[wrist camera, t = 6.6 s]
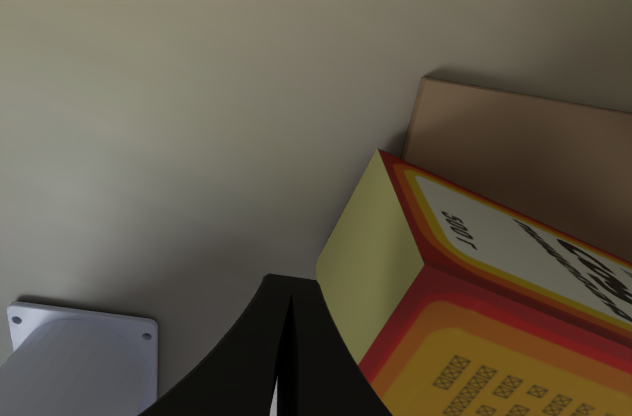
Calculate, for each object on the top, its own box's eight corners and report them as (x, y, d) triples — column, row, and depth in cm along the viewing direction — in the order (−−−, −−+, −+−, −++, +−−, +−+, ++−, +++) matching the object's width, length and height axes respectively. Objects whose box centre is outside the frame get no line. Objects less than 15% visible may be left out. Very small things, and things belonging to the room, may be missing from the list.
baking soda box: (376, 148, 19) (657, 274, 22) (316, 262, 22) (574, 362, 25) (424, 264, 11) (872, 446, 14) (315, 430, 13) (711, 554, 16)
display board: (621, 305, 24) (630, 315, 23) (371, 270, 23) (373, 278, 22) (723, 129, 20) (738, 133, 19) (421, 76, 19) (426, 79, 18)
